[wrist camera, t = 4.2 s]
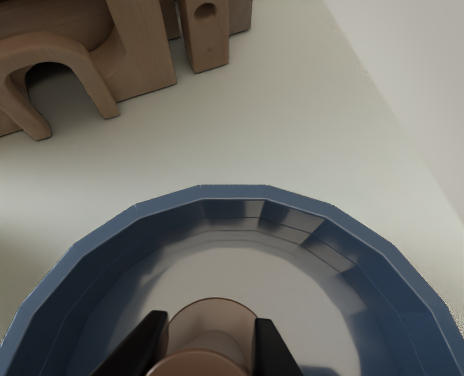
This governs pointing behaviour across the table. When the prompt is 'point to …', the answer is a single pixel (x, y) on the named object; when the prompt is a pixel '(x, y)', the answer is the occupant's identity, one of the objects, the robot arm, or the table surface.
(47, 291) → the bowl
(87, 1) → the wooden puzzle
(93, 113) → the table surface
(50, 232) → the table surface
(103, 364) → the robot arm
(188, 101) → the table surface
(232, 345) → the brown wooden peg
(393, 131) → the table surface
